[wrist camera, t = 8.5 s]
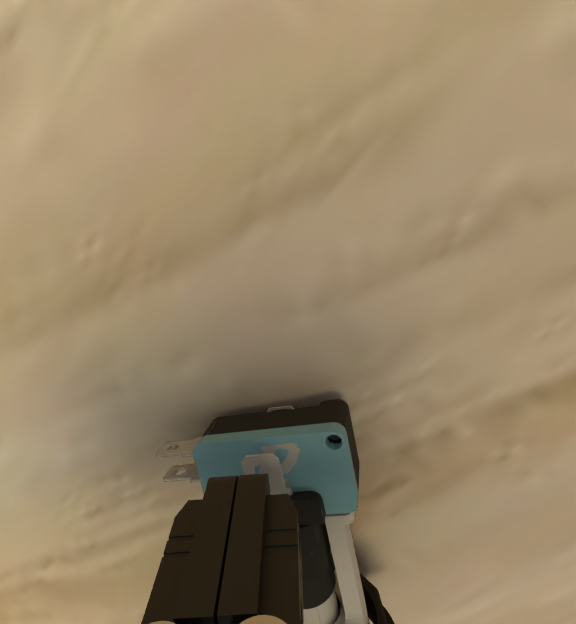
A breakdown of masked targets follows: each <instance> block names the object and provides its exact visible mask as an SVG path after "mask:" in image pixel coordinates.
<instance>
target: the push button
mask: <svg viewBox="0 0 576 624" xmlns="http://www.w3.org/2000/svg"><path fill="white" fill-rule="evenodd" d="M174 446H179V447H178V448H177V449H175V450H173V451H168V450H169V449H170V448H172V447H174ZM175 455H183V457H192V456H194V459H195V463H196V464H187V465H176V466H173V467H171V468H170V469H169V471H168V472H167V473H166V475H165V476H164V477H163V480H164V481H165V482H166V481H179V480H190V482H201V484H202V488H203V491H204V494H205V490H206V486H207V482H208V479H209V478H210V477H223V476H238V477H239V475H250V474H265V473H267V474H268V477H269V485H270V493H271V495H276V494H289V496H290V498H291V499H292V501H293V503H294V505H295V507H296V508H297V514H298V525H299V535H300V545H301V557H302V586H303V614H304V624H370V623H369V619H370V620H371V621H372V622H373V624H394V622H393V620H392V618H391V616H390V614H389V613H388V611H387V610H386V609H385V607H384V606H383V605H382V603H381V599H380V596H379V592H378V590H377V588H376V587H375V586H373V585H372V584H371V583H370V582H369V581H368V580H367V579H366V578H365V577H364V576H363V575H361V574H360V573H359V568H358V563H357V558H356V554H355V549H354V544H353V539H352V534H351V529H350V524H351V523H353V522H354V520H355V510H356V509H357V506H358V487H359V459H358V454H357V448H356V443H355V438H354V433H353V428H352V422H351V417H350V412H349V407H348V405H347V403H346V402H345V401H343V400H340V399H335V400H326V401H323V402H321V403H320V405H319V406H316V407H307V408H298V409H294V408H293V407H292V406H290V405H289V406H280V407H272V408H269V409H268V410H267V411H266V412H262V413H253V414H244V415H235V416H226V417H218V418H216V419H214V421H213V422H212V423H211V425H210V426H209V428H208V429H207V430H206V432H205V433H204V435H203V436H202V437H196V438H195V439H194V440H185V441H175V442H167V443H165V444H164V445H163V446H162V447H161V448H160V449H159V450H158V452H157V453H156V456H157V457H165V456H175ZM181 470H186V472H185V473H183V474H181V475H175V474H176V473H177V472H178V471H181ZM330 546H331V551H332V556H333V560H334V565H335V567H333V564H332V559H331V555H330Z"/></svg>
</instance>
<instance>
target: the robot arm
mask: <svg viewBox="0 0 576 624" xmlns="http://www.w3.org/2000/svg"><path fill="white" fill-rule="evenodd" d="M141 624H304V614H303V586H302V557H301V545H300V535H299V525H298V514H297V508H296V507H295V505H294V503H293V501H292V499H291V498H290V496H289V494H276V495H271V493H270V485H269V477H268V474H267V473H265V474H250V475H239V477H238V476H223V477H210V478H209V479H208V482H207V486H206V490H205V494H204V498H203V500H188V502H187V503H186V504H185V505H184V507H183V508H182V509H181V510H180V512H179V513H178V514H177V516H176V517H175V519H174V522H173V525H172V528H171V532H170V535H169V541H167V544H166V547H165V551H164V557H162V560H161V563H160V566H159V570H158V573H157V576H156V579H155V582H154V585H153V589H152V592H151V595H150V598H149V601H148V604H147V607H146V611H145V614H144V617H143V620H142V623H141Z"/></svg>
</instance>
